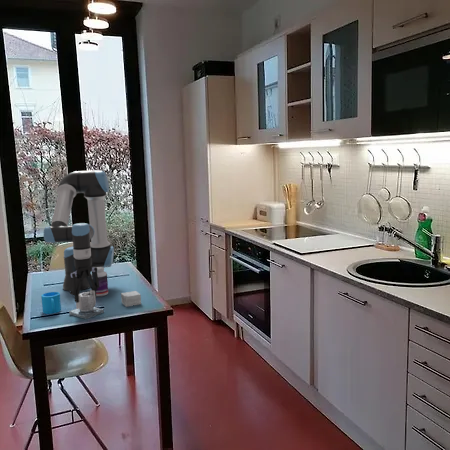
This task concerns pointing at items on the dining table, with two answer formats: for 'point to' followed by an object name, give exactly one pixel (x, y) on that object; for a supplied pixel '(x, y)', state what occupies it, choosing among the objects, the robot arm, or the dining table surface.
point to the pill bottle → (102, 282)
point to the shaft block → (86, 312)
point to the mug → (51, 302)
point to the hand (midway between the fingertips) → (86, 306)
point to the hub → (87, 300)
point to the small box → (131, 298)
